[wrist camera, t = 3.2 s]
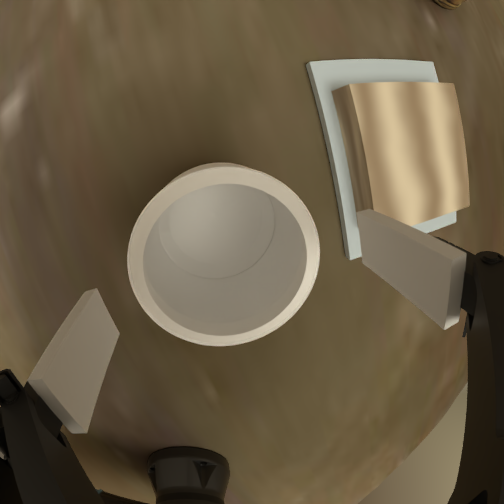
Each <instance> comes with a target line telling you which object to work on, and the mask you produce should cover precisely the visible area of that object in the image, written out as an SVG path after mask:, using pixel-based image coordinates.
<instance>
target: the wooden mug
mask: <svg viewBox="0 0 504 504" xmlns="http://www.w3.org/2000/svg"><path fill="white" fill-rule="evenodd" d="M434 1H435V2H436V3H437V4H438V5H440V6H442V7H444V8H447V9H455V8H457V7H459V6H460V5H461V3H462V2H464V1H466V0H434Z"/></svg>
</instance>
